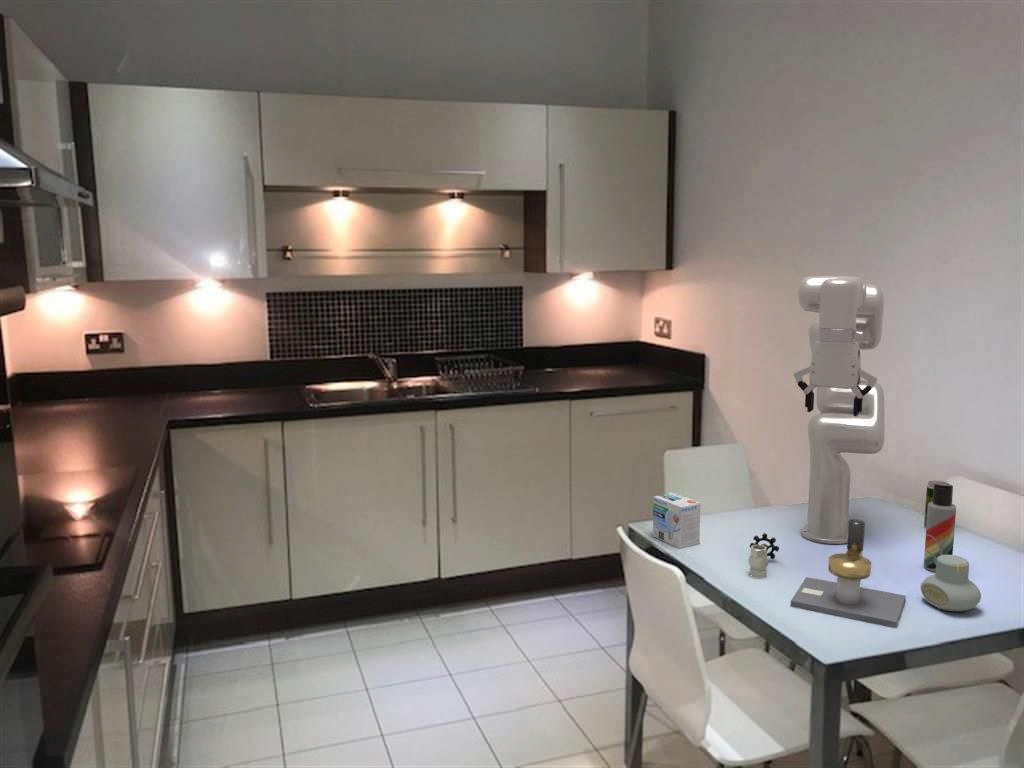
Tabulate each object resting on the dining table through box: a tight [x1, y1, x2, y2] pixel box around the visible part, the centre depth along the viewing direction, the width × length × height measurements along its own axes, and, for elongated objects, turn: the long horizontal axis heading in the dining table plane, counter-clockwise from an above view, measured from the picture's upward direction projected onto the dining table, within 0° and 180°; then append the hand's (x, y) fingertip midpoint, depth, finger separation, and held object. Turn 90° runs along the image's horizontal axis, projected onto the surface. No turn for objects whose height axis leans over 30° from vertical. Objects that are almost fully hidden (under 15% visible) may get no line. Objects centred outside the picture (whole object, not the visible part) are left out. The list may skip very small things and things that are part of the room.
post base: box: [790, 576, 907, 629], centre depth 176 cm, size 14×20×7 cm
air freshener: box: [920, 555, 982, 612], centre depth 174 cm, size 11×8×10 cm
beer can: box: [923, 480, 951, 529], centre depth 218 cm, size 5×5×12 cm
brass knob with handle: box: [828, 518, 872, 581], centre depth 176 cm, size 8×14×8 cm, turn 151°
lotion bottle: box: [923, 484, 957, 573], centre depth 192 cm, size 6×6×20 cm
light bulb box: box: [652, 491, 701, 550], centre depth 213 cm, size 11×7×11 cm, turn 31°
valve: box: [748, 532, 780, 578], centre depth 195 cm, size 7×7×12 cm
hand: (832, 412), depth 188 cm, fingers open, 9 cm apart
